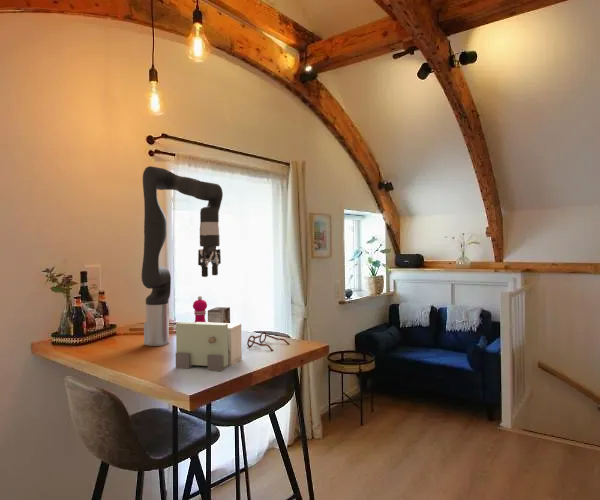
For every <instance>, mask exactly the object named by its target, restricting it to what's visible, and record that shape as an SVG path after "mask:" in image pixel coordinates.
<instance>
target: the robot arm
mask: <svg viewBox="0 0 600 500" xmlns="http://www.w3.org/2000/svg"><path fill="white" fill-rule="evenodd" d="M142 188H143V190H142V191H143V202H144V203H143V204H144V205H143V206H144V209H143V210H144V220H143V236H144V237H143V257H142V268H141V282H142V284H143V286H144V287H145V288H146V289H150V290H151V289H152V290H151V292H150V294H149V295H148V296H147V297H146V298H145V321H144V322H143V344H144V345H146V346H149V347H157V346H159V347H160V346H165V345H167V344H169V343H170V342H169V340H170V338H169V337H170V336H169V334H170V333H169V332H170V329H169V328H170V327H169V319H170V317H169V299H170V297H171V289H172V288H171V287H172V286H171V285H172V278H171V272H170V270H169V269H168V268H167V266H164V265H159V264H160V263H159V262H160V261H159V260H160V257H159V256H160V253H161V250H162V248H163V246H164V244H165V242H166V239H167V235H168V230H167V229H168V220H167V217H166V215H165V212H164V211H163V209H162V207H161V205H160V202H159V199H158V190H159V191H164V190H165V191H169V190H170V191H171V190H172V191H177V192H178V193H180V194H183V195H186V196H189V197H192V198H195V199H198V200H199V201H200V200H201V201H205V202H206V201H207V202H208V203H207V206H204V207H201V208H200V212H199V213H200V214H199V217H200V219H199V223H200V224H199V246H200V247H202V248H201V249H200V248H199V249H198V251H197V252H198V253H197V255H198V258H197V259H198V261H197V264H198V266H200V267H201V277H203V278H208V276H209V263H211V275H212V276H218V274H219V265H221V263H222V262H221V261H222V259H221V256H222V255H221V249H220V248H217V247H219V246H220V240H221V239H220V237H221V236H220V222H219V221H220V220H219V219H220V218H219V216H220V215H219V212H220V210H221V209H220V208H221V206H222V201H223V194H224V193H223V189H222V187H221V186H220V184H218V183H214V182H208V181H207V182H206V181H201V180H199V179H197V178H193V177H189V176H188V177H187V176H181V175H179V174H175V173H174V172H172V171H170V170H168V169H166V168H162V167H158V166H157V167H156V166H152V165H150V166H147V167H146V168H144V171H143V173H142Z"/></svg>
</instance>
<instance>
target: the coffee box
mask: <svg viewBox="0 0 600 500" xmlns="http://www.w3.org/2000/svg"><path fill="white" fill-rule="evenodd" d="M207 322H211V323H231V307H229V306H228V307H226V306H224V307H222V306H221V307H219V306H218V307H217V306H216V307H213V308H211V309H208V310H207Z"/></svg>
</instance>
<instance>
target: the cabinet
mask: <svg viewBox="0 0 600 500" xmlns="http://www.w3.org/2000/svg"><path fill="white" fill-rule="evenodd" d="M197 323H211V322H208V321H206V322H197ZM221 324H228V365H227V366H225V367H223V357H222V355H207V358H208V366H207V371H213V372H214V371H215V372H222V371H224V370H226V369H227V368H229V367H230V366H231V367H232V366H234V365H235V364H236V363H238V362H240V361H241V360H242V359H243V357H242V350H243V349H242V323H231V322H230V323H221ZM194 366H196V365H190V353H176V352H175V369H183V370H184V369H185V370H188V369H191V368H193V367H194Z"/></svg>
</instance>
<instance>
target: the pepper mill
mask: <svg viewBox="0 0 600 500" xmlns="http://www.w3.org/2000/svg"><path fill="white" fill-rule="evenodd" d="M192 308H193V309H194V311H193V312H194V316H195V317H194V322H207V321H206V315H207V310H206V309H207V308H208V304H207V301H206V300H204V299H203V297H202V296H201V295H199V296H198V297H197V300H194V301H193V304H192Z"/></svg>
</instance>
